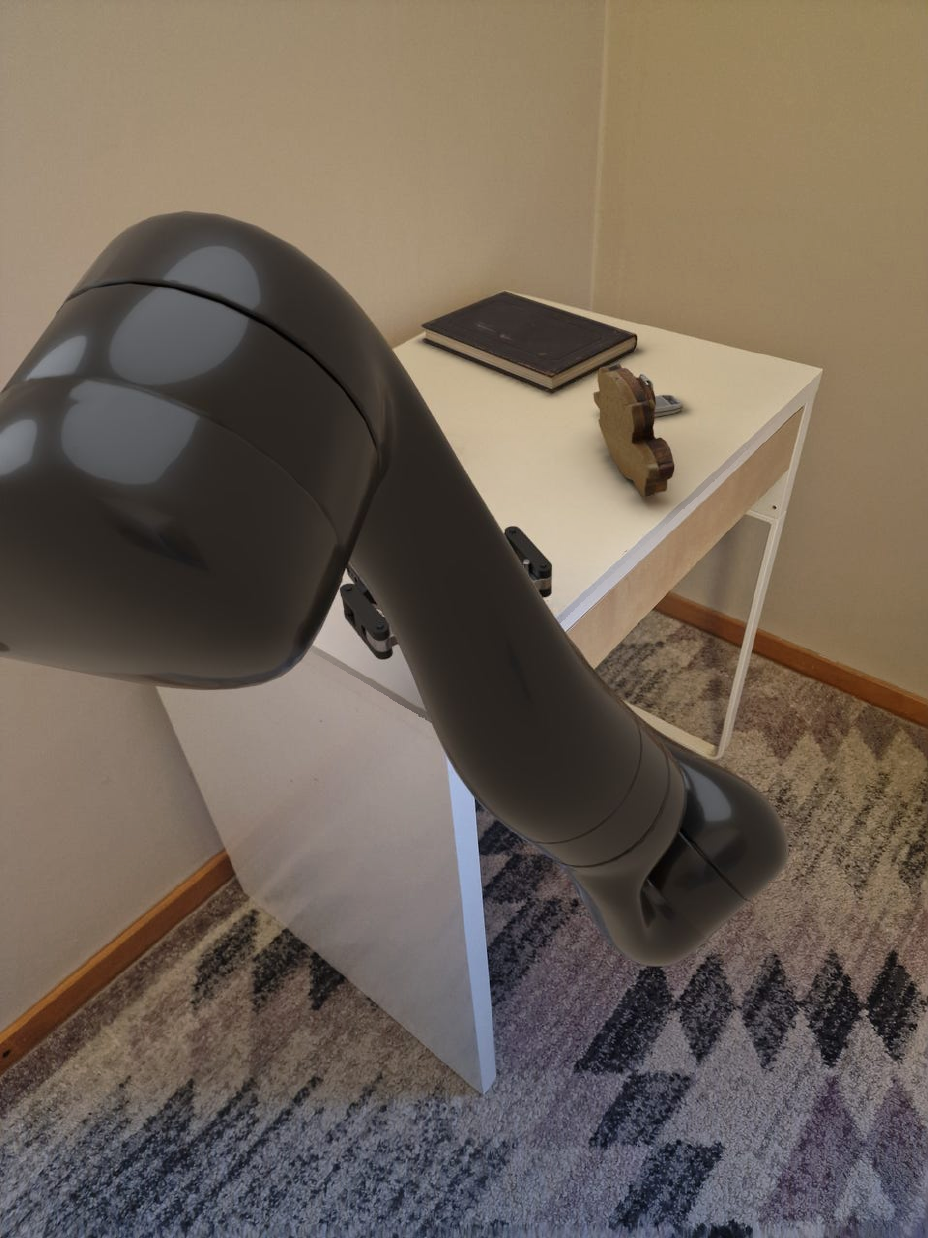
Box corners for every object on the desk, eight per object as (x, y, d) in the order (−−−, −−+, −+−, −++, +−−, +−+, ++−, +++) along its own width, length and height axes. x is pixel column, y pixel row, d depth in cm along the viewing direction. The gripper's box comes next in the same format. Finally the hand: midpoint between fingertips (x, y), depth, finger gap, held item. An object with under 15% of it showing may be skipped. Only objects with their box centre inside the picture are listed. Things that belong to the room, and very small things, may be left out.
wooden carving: (688, 506, 81) (701, 410, 74) (643, 516, 80) (653, 419, 74) (616, 428, 93) (622, 339, 86) (577, 435, 92) (580, 346, 86)
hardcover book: (551, 393, 100) (551, 375, 98) (422, 341, 113) (421, 324, 112) (637, 349, 108) (638, 331, 106) (507, 305, 121) (507, 289, 119)
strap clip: (670, 400, 97) (674, 364, 94) (683, 412, 95) (688, 375, 92) (601, 414, 96) (603, 378, 93) (613, 426, 93) (615, 390, 91)
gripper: (609, 581, 54) (485, 467, 65) (405, 662, 49) (308, 525, 60) (603, 667, 59) (488, 547, 70) (416, 747, 54) (325, 606, 65)
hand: (405, 537), depth 65 cm, fingers open, 8 cm apart
